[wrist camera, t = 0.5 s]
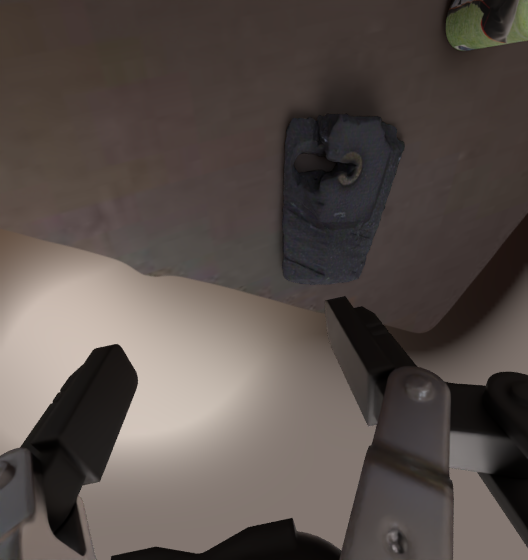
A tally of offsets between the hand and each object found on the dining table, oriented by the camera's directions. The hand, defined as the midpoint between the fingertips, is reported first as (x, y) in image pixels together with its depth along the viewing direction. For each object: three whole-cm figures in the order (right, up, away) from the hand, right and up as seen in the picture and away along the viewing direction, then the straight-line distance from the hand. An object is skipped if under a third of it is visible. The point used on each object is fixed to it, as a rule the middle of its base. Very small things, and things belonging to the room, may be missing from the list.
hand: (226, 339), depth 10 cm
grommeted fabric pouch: (+10, +12, +26) cm, 31 cm away
